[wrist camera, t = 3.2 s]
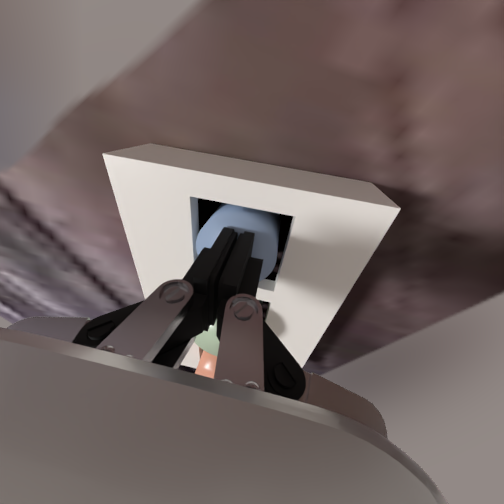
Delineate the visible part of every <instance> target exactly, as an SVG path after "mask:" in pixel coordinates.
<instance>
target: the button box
mask: <svg viewBox="0 0 504 504" xmlns="http://www.w3.org/2000/svg"><path fill="white" fill-rule="evenodd" d="M103 157H104V161H105V164H106V168H107V171H108V174H109V178H110V181H111V185H112V188H113V191H114V195H115V198H116V202H117V205H118V208H119V212H120V215H121V219H122V222H123V225H124V229H125V232H126V236H127V239H128V242H129V246H130V249H131V253H132V256H133V259H134V263H135V266H136V270H137V273H138V276H139V280H140V283H141V287H142V290H143V293H144V297H145V299H146V298H147V297H148V296H149V295H150V294H152V293H153V292H154V291H155V290H156V289H157V288H158V287H159V286H160V285H161V284H163V283H164V282H167V281H169V280H173V279H181V280H182V279H183V278H184V276H185V275H186V273H187V272H188V270H189V269H190V267H191V266H192V264H193V263H194V261H195V260H196V258H197V257H198V255H197V251H196V239H197V236H198V233H199V217H198V198H201V199H206V200H212V201H217V202H222V203H227V204H232V205H238V206H243V207H248V208H253V209H258V210H263V211H269V212H274V213H279V214H284V215H289V216H293V219H292V223H291V226H290V230H289V233H288V237H287V241H286V244H285V248H284V251H283V255H282V259H281V262H280V266H279V269H278V273H277V277H276V280H275V281H272V280H268V279H263V280H261V281H259V284H258V289H257V294H256V299H257V300H262V301H266V302H269V305H268V309H267V312H266V316H265V320H264V321H265V322H266V323H267V325H268V326H269V327H270V328H271V330H272V331H273V332H274V333H275V335H276V336H277V337H278V338H279V340H280V341H281V342H282V343H283V345H284V346H285V347H286V348H287V350H288V351H289V352H290V353H291V355H292V356H293V357H294V358H295V360H296V361H297V362H298V363H299V365H300V366H301V368H302V367H303V366H304V364H305V363H306V361H307V359H308V358H309V356H310V355H311V353H312V351H313V350H314V348H315V346H316V345H317V343H318V342H319V340H320V338H321V337H322V335H323V334H324V332H325V330H326V329H327V327H328V325H329V324H330V322H331V321H332V319H333V317H334V316H335V314H336V313H337V311H338V309H339V308H340V306H341V305H342V303H343V301H344V300H345V298H346V296H347V295H348V293H349V292H350V290H351V288H352V287H353V285H354V284H355V282H356V280H357V279H358V277H359V276H360V274H361V272H362V271H363V269H364V267H365V266H366V264H367V263H368V261H369V259H370V258H371V256H372V255H373V253H374V251H375V250H376V248H377V246H378V245H379V243H380V242H381V240H382V238H383V237H384V235H385V234H386V232H387V230H388V229H389V227H390V226H391V224H392V222H393V221H394V219H395V217H396V216H397V214H398V213H399V211H400V209H401V208H400V207H399V206H397V205H396V204H395V203H394V202H393V201H392V200H391V199H390V198H388V197H387V196H386V195H385V194H384V193H383V192H382V191H380V190H379V189H378V188H377V187H376V186H375V185H374V184H372V183H371V182H365V181H360V180H354V179H348V178H343V177H337V176H331V175H326V174H320V173H315V172H309V171H303V170H298V169H292V168H286V167H281V166H275V165H270V164H264V163H258V162H253V161H247V160H241V159H236V158H230V157H225V156H219V155H213V154H208V153H202V152H197V151H191V150H185V149H180V148H174V147H168V146H163V145H157V144H152V143H150V144H146V145H141V146H136V147H131V148H127V149H122V150H117V151H112V152H108V153H103ZM202 353H203V349H201V348H200V347H199V346H198V345H197V344H196V343H195V342H194V343H193V345H192V346H191V348H190V349H189V351H188V353H187V354H186V356H185V358H184V359H183V361H182V363H181V364H180V365H184V366H188V367H192V368H196V369H197V366H198V363H199V361H200V358H201V356H202Z"/></svg>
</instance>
